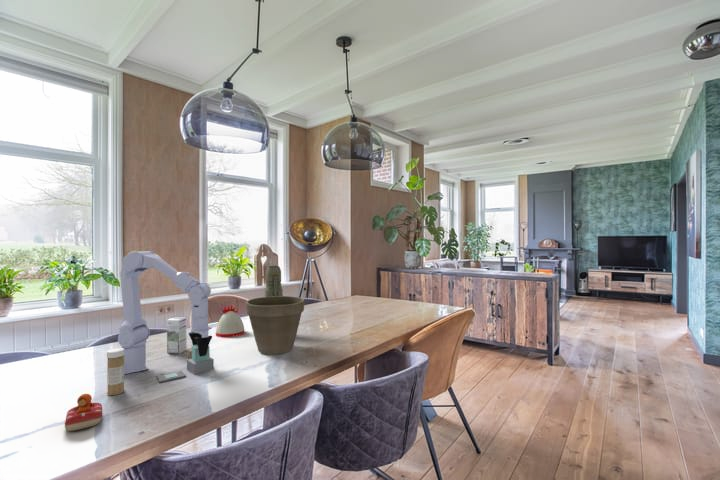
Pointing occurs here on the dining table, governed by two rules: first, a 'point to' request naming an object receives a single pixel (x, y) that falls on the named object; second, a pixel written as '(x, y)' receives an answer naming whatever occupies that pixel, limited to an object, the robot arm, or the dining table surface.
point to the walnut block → (189, 353)
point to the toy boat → (83, 414)
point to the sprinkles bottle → (115, 371)
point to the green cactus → (273, 282)
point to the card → (171, 376)
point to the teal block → (196, 355)
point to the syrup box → (176, 335)
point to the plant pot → (275, 322)
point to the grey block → (200, 366)
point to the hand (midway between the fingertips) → (200, 353)
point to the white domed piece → (229, 324)
